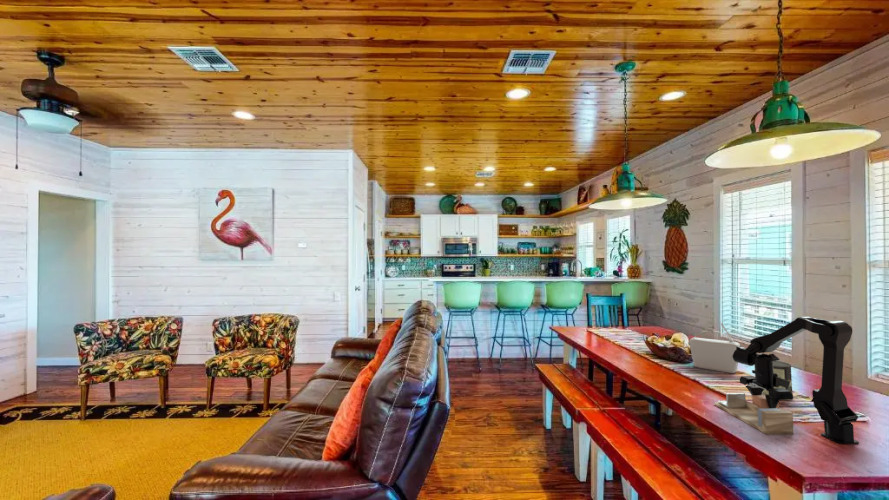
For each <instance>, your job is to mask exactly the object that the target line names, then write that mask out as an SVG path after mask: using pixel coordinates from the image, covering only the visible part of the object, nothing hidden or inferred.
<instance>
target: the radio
mask: <svg viewBox="0 0 889 500" xmlns="http://www.w3.org/2000/svg"><path fill="white" fill-rule="evenodd" d="M720 325H721V326H722V328H723V329H724V331H725V333H726V334H725V333H723V332H721V331H717V330H714V332H715V333H720V334H722V335H724V336H725V337H727V338H728V340H722V339H714V338H713V339H712V338H703V337H697V336H693V337H692V338H690V339H689V340H688V341H689V342H688V343H689V348H690V352H691V358H692V362H693V365H694V367H695V368H699V369H704V370H710V371H716V372H722V373H723V372H724V373H728V374H735V373H736V372H737V370H738V366H739V363H738V362H735V361H734V360H733V353H734V351H735V350H736V347H741V344H740V343H739V342H737V341H734V339H733V337H732V336H731V335H730V333H729V332H728V330H727V329H726V327H725V326H724V324H723V323H722V322H721V323H720ZM704 332H706V330H705V331H700V332H699V334H701V333H704Z"/></svg>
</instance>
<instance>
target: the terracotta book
mask: <svg viewBox="0 0 889 500" xmlns="http://www.w3.org/2000/svg"><path fill="white" fill-rule="evenodd" d="M751 399H752V402H751V403H752V404H754V405H756V406H758V407H760V408H762V409H766V408H769V406H768V403H767V400H766V397H765V395H763V394H762V395H751ZM776 408H778V409H780V402H779V403H778V404H777V407H776Z"/></svg>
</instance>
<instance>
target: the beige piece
mask: <svg viewBox="0 0 889 500" xmlns="http://www.w3.org/2000/svg"><path fill="white" fill-rule="evenodd" d="M714 406H716V407H718V408H719V409H721V410H723V411H725V412H726V413H728V414H730V415H732V416H734V417H735V418H737V419H738V420H741V421H742V422H745V423H746V424H747V425H749V426H751V427H753V428H754V429H756V430H758V431H760V432H762V433H763V434H764V435H765V434H766V435H767V436H779V435H781V436H782V435H795V434H794V414H793V412H792V411H790V410H786V409H783V410H782V409H780V410H778V411H762V427H760V426H759V425H758V409H762V408H760V407H758V406H756V405H754V404H753V402H749V401H747V400H746V407H742V408H728V407H726V406H724V405H722V404H720V403H719V402H718V401H716V402H714Z"/></svg>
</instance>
